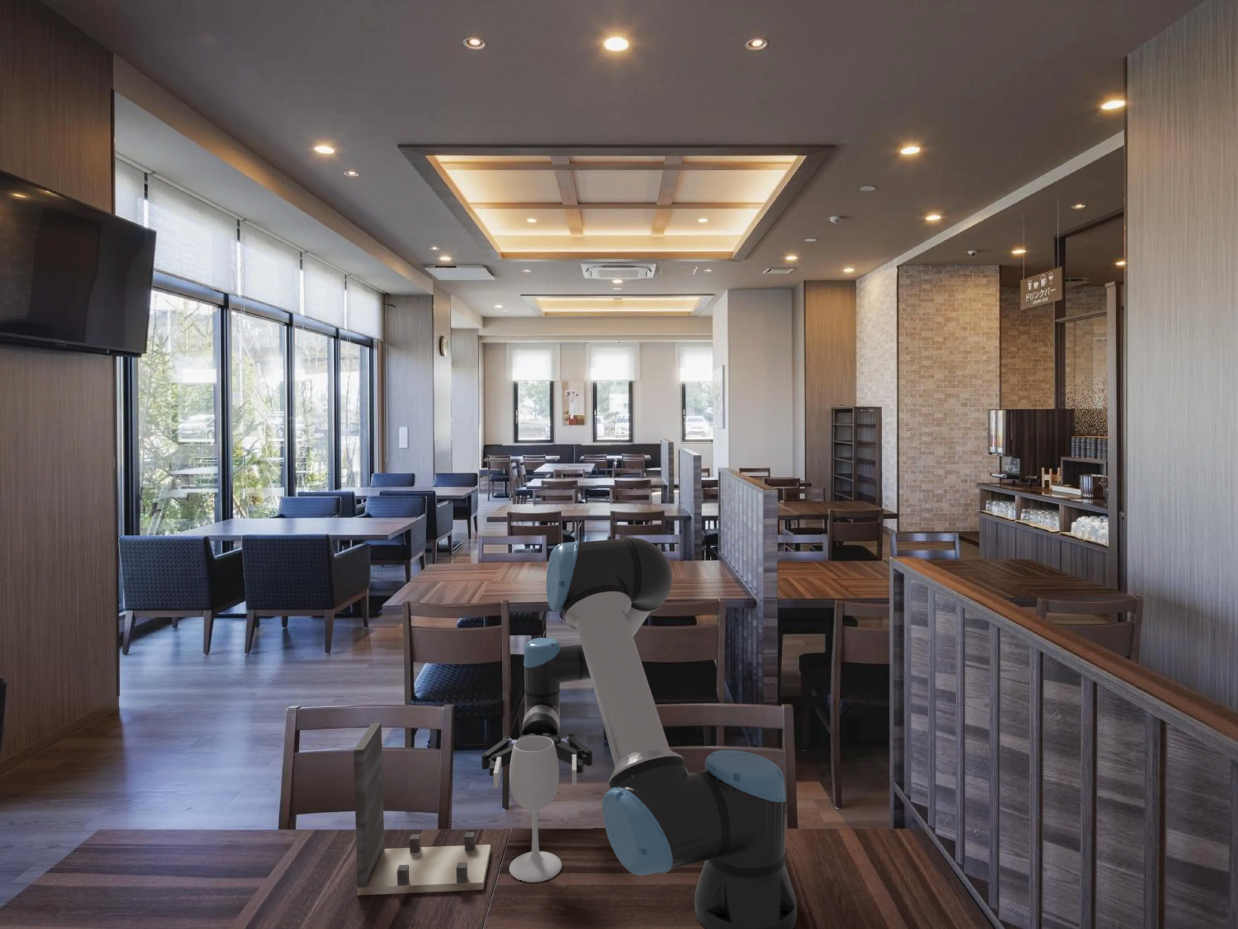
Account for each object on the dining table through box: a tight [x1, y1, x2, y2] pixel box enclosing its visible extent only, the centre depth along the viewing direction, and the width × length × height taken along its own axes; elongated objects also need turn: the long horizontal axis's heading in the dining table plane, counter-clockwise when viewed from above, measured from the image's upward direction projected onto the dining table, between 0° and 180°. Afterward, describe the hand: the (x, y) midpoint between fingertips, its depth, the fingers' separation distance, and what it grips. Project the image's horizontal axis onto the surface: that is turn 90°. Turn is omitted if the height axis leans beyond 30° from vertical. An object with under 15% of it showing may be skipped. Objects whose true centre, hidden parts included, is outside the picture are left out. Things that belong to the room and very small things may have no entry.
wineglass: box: [508, 736, 563, 883], centre depth 126 cm, size 9×9×21 cm
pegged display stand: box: [353, 721, 492, 896], centre depth 125 cm, size 20×11×23 cm, turn 93°
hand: (535, 779), depth 133 cm, fingers open, 13 cm apart
